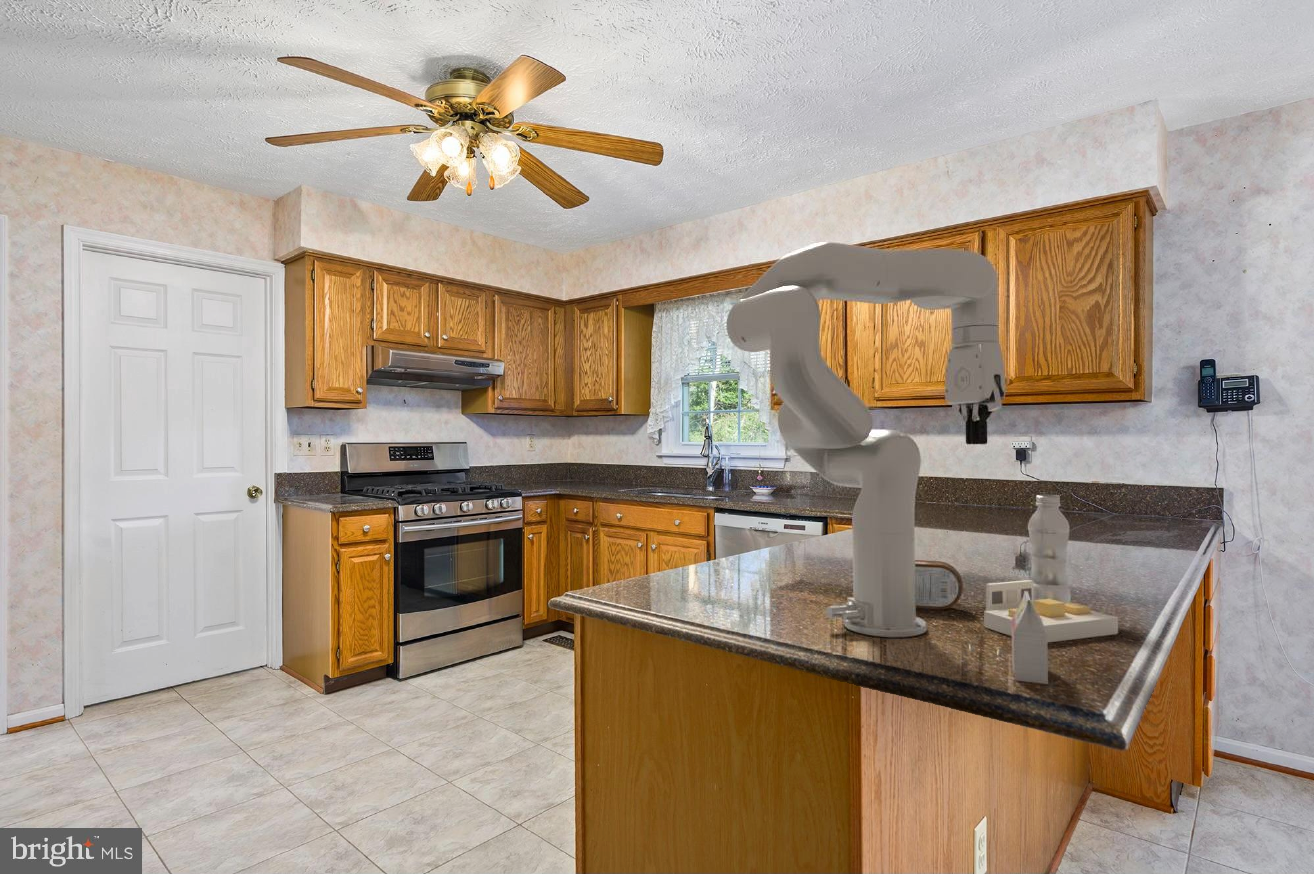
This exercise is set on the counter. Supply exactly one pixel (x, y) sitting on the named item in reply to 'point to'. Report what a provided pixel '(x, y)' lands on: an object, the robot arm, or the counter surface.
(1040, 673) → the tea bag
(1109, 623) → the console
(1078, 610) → the button far
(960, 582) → the tin
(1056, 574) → the plastic bottle
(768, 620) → the counter surface
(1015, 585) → the card
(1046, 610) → the button mid
